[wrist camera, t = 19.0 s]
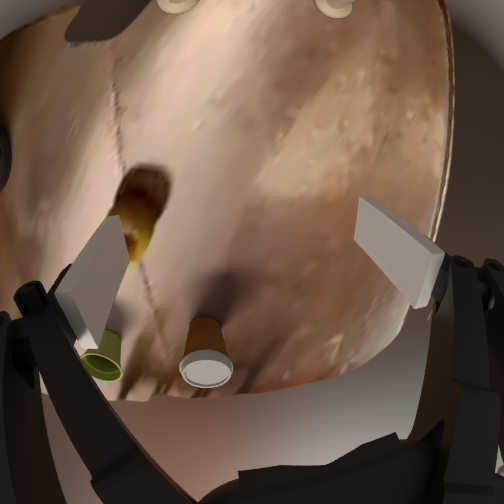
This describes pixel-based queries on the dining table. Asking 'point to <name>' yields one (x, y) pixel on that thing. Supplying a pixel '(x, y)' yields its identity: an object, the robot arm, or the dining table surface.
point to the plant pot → (105, 358)
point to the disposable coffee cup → (205, 355)
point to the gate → (329, 3)
